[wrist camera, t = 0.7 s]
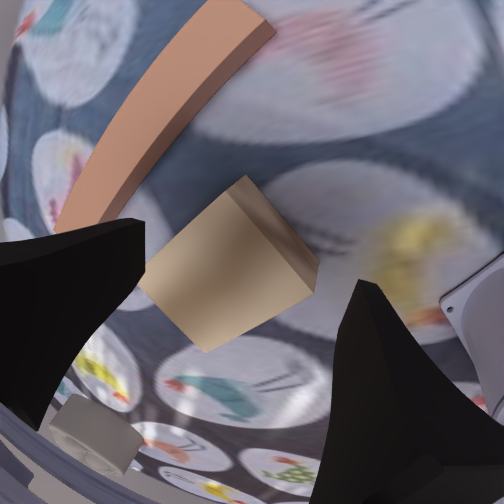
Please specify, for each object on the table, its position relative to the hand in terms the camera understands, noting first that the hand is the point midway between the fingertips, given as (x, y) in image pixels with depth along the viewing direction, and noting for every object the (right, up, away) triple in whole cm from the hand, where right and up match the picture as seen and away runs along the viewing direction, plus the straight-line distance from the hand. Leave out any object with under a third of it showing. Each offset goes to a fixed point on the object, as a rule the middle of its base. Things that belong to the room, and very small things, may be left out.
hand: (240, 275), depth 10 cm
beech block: (-1, +1, +11) cm, 12 cm away
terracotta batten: (-6, +8, +9) cm, 13 cm away
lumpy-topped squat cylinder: (-22, -25, +31) cm, 46 cm away
